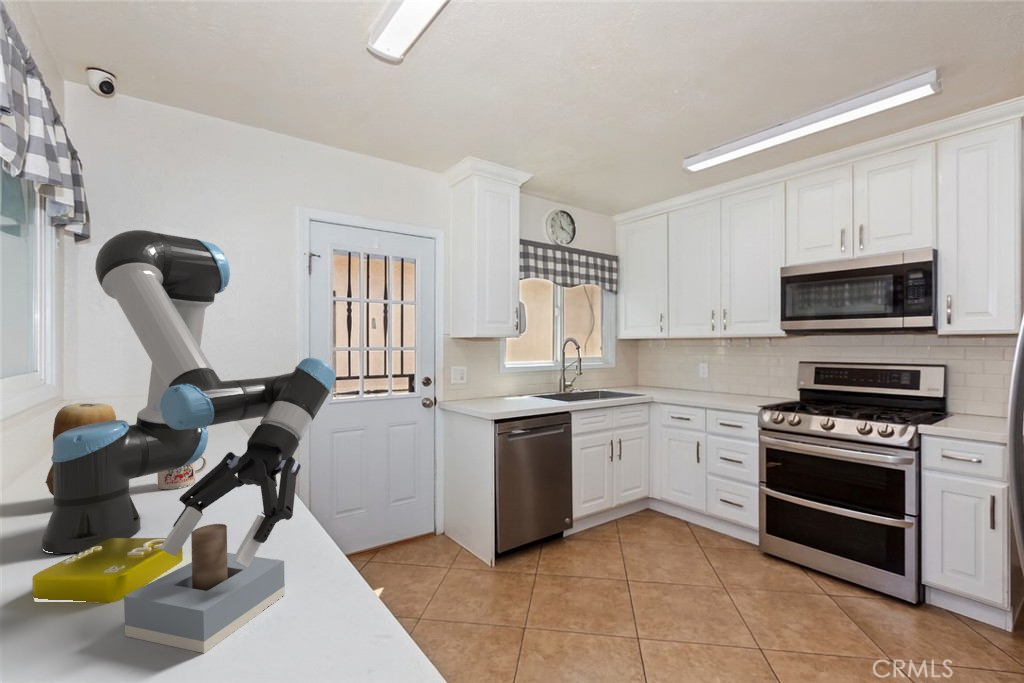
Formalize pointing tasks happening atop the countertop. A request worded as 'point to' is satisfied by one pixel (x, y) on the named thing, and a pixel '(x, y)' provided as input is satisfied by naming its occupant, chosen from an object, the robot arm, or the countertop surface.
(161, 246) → the robot arm
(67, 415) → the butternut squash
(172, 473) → the enamel mug
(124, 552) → the element tile
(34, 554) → the countertop surface
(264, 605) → the socket block
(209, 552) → the pin
